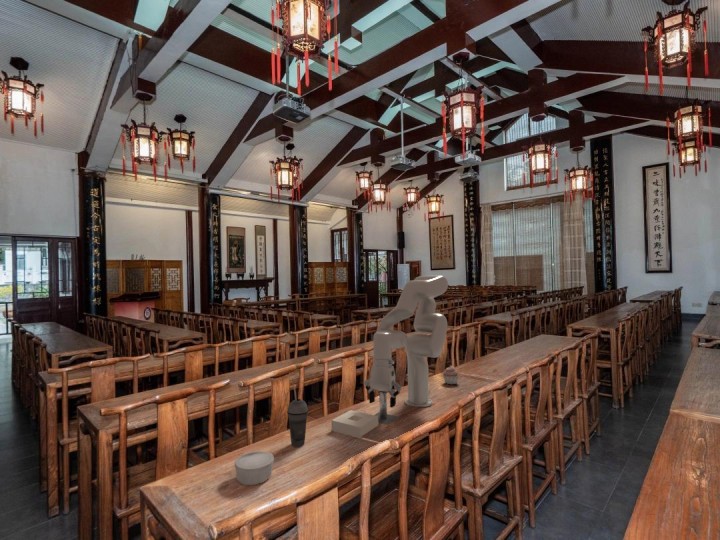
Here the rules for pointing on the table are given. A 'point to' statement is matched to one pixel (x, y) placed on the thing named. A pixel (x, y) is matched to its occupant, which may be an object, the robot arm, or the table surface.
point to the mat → (385, 421)
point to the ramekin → (254, 467)
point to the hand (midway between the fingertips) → (382, 404)
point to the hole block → (354, 423)
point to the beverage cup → (297, 421)
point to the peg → (383, 404)
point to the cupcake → (451, 375)
